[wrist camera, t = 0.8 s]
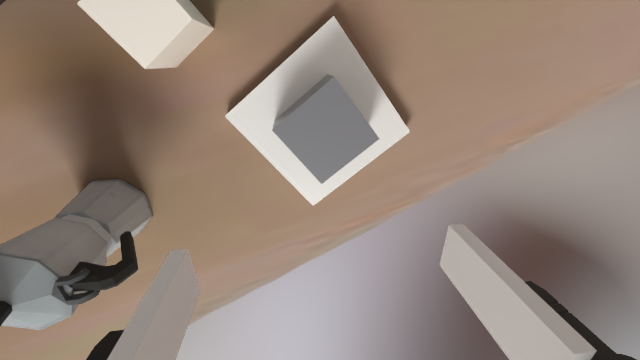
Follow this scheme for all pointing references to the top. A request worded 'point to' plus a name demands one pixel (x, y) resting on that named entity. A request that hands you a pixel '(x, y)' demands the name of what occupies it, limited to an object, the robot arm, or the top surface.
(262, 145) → the tower base
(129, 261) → the coffee maker
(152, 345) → the robot arm
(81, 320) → the top surface
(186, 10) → the cream block
